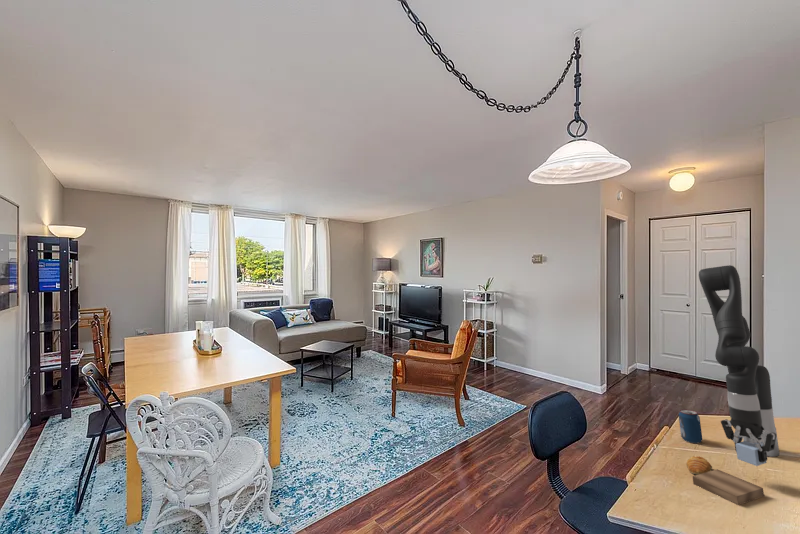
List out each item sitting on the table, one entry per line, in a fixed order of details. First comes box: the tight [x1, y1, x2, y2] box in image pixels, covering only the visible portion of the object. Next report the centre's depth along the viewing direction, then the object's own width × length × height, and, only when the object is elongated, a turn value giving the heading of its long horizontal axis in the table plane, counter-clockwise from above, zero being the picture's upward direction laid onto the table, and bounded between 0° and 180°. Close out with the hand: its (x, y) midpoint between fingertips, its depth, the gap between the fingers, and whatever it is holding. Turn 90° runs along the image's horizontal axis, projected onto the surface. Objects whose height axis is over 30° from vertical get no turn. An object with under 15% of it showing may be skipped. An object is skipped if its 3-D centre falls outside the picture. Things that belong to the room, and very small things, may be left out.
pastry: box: [686, 455, 713, 475], centre depth 120 cm, size 9×7×4 cm
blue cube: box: [735, 440, 768, 467], centre depth 112 cm, size 5×5×5 cm
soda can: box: [678, 408, 703, 444], centre depth 143 cm, size 7×7×12 cm
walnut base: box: [692, 468, 765, 506], centre depth 108 cm, size 12×12×3 cm
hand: (751, 457), depth 112 cm, fingers closed on blue cube, 5 cm apart
